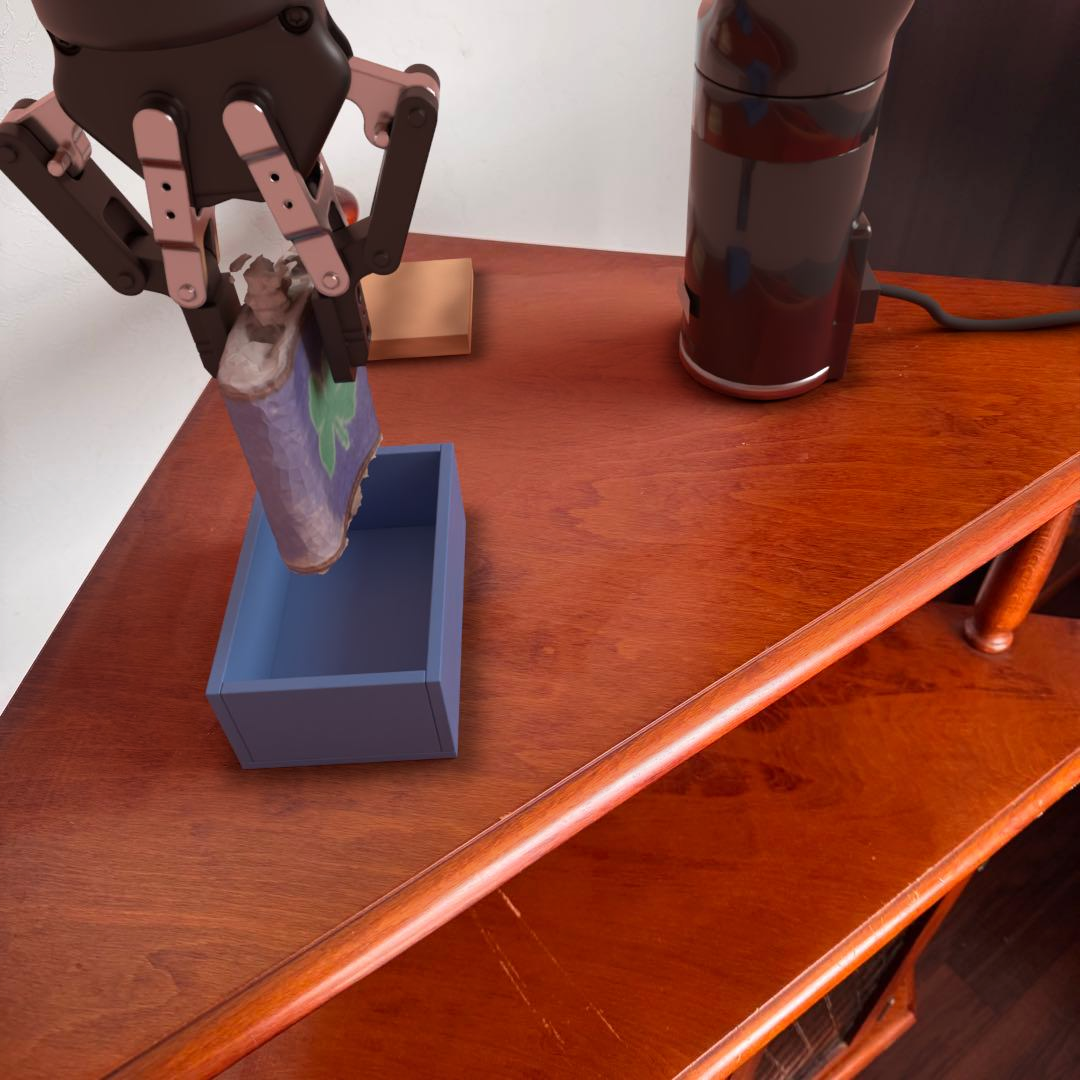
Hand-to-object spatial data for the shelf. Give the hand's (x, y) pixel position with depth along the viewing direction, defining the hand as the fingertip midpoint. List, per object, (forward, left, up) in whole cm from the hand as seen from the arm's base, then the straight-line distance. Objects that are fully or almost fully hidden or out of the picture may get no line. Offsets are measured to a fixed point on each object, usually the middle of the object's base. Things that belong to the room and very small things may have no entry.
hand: (296, 371), depth 37 cm
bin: (0, 0, -15) cm, 15 cm away
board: (0, -27, -15) cm, 31 cm away
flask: (0, 0, -6) cm, 6 cm away
